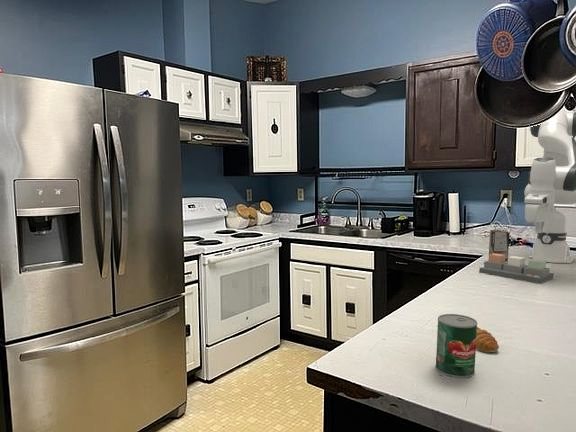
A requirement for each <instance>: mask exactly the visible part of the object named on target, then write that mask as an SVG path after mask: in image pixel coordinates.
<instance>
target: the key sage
mask: <svg viewBox="0 0 576 432" xmlns="http://www.w3.org/2000/svg"><path fill="white" fill-rule="evenodd" d="M527 265H528V268H531V269H537V270H544V269H546V268H547V267H546V266H547V262H546V261H544V260H537V259H533V258H530V259H528V263H527Z"/></svg>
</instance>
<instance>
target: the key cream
mask: <svg viewBox="0 0 576 432" xmlns="http://www.w3.org/2000/svg"><path fill="white" fill-rule="evenodd" d="M525 262H526V257H522V256H516V255H512V256H508V265H512V266H518V267H521V266H525V265H526V264H525Z"/></svg>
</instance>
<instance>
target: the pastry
mask: <svg viewBox="0 0 576 432" xmlns="http://www.w3.org/2000/svg"><path fill="white" fill-rule="evenodd" d="M499 348H500V346H499V343H498V341H497V340H496V338H495V336H493V334H492V333H491V332H489V331H487V330H486V329H481V328H480V327H478V326H477V336H476V350H477V351H479V352H483V353H486V354H488V353H494V352H498V350H499Z"/></svg>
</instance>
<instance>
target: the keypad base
mask: <svg viewBox="0 0 576 432" xmlns="http://www.w3.org/2000/svg"><path fill="white" fill-rule="evenodd" d="M483 265H484V266H482V267H479V271H478V272H479V273H480V274H485V275H490V276H496V277H503V278H506V279H507V278H508V279H513V280H516V281H517V280H518V281H524V282H529V283H533V284H534V283H535V284H539V285H541V284H543V283H546V282H547V281H550V280H553V279H554V275H555V273H553V272H551V268H549V267H546V269H544V270H537V269H531V268H528V264H525V266H521V267H518V266H512V265H508V262H506V261H505V262H504V263H501V264H500V263H494V262H489V259H488V260H485V261H484V262H483Z"/></svg>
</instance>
